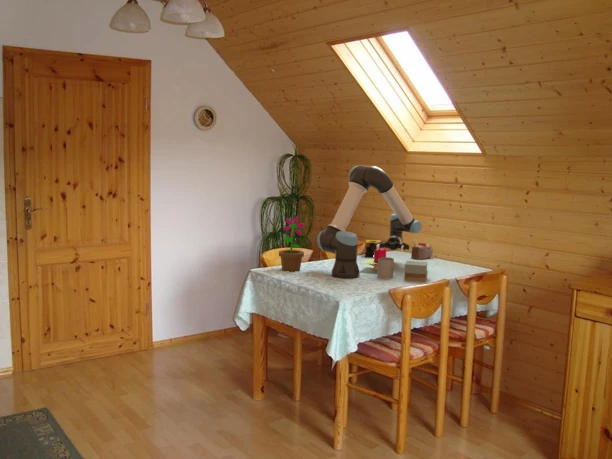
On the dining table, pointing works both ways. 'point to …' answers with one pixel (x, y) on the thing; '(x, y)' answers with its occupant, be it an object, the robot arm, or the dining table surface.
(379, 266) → the cup
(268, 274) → the dining table surface
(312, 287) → the dining table surface
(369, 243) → the yellow black cube
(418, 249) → the food item
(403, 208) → the robot arm
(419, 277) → the tower bottom block
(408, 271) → the tower top block
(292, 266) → the flowerpot
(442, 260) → the dining table surface
